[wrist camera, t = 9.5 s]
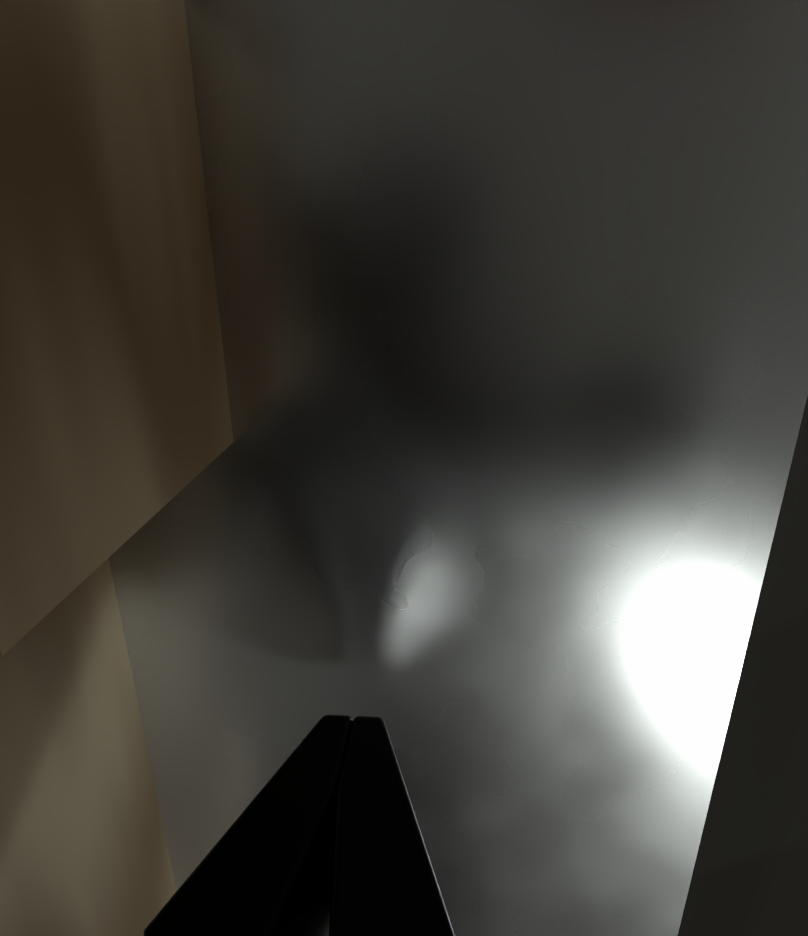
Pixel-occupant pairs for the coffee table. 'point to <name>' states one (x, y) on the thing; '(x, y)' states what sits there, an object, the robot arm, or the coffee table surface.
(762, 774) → the coffee table surface
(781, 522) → the coffee table surface
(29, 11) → the link
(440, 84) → the plate
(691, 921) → the coffee table surface
